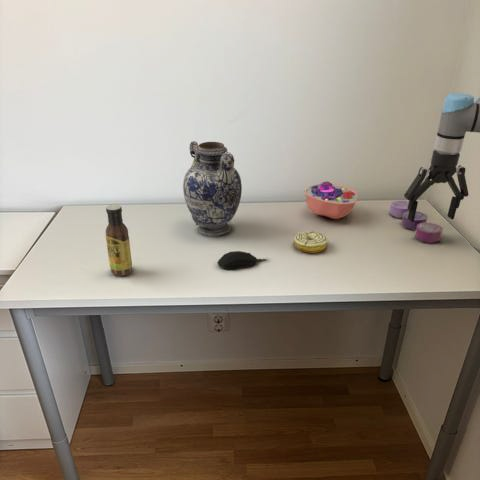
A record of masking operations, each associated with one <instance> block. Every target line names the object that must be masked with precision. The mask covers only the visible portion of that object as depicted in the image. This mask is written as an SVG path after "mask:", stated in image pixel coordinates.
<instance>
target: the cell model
mask: <svg viewBox="0 0 480 480" xmlns="http://www.w3.org/2000/svg"><path fill="white" fill-rule="evenodd" d="M304 196H305V202H306V205H307V208H308V209H309V210H310V212H311V213H312V214H315V215H317V216H322V217H327V218H329V219H333V220H339V219H341V218H344V217H347V216H348V215H349V214H351V212H352V211H353V209H354V208H355V206H356V202H357V200H358V193H356V191H354V190H353V189H352V188H349V187H345V186H341V185H337V184H332V182H329V181H326V180H325V181H322V182H321V183H318V184H314V185H311V186H308V187H307V188H306V189H305V190H304Z"/></svg>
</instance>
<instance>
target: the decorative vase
mask: <svg viewBox="0 0 480 480" xmlns="http://www.w3.org/2000/svg"><path fill="white" fill-rule="evenodd" d="M188 148H189V154H190V156H191V158H193V160H192V163H191V166H190V168H189V169H188V170H187V171H186V172H185V175H184V178H183V182H182V183H183V184H182V190H183V197H184V202H185V205H186V207H187V209H188V211H189V213H190V214H191V215H190V216H191V218H192V220H193V222H194V224H195V226H198V232H199V234H201V235H203V236H207V237H221V236H224V235H227V234H228V233H230V231H231V225H230V224H229V222H231V220H233V218H234V217H235V215H236V213H237V211H238V210H239V209H238V208H239V206H240V203H241V199H242V191H243V189H242V187H243V186H242V177H241V175H240V173H239V172H238V170H237V169H236V168H235V157H234V155H233V154H232V153H231V152H229V151H228V148H227V147H226V146H225V144H224V143H222V142H219V141H205V142H201V143H198V142H197V141H195V140H192V141H190V143H189V147H188Z"/></svg>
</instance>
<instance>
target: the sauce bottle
mask: <svg viewBox="0 0 480 480" xmlns="http://www.w3.org/2000/svg"><path fill="white" fill-rule="evenodd" d="M105 211H106V214H107V223H108V224H107V226H106V228H105V241H106V248H107V256H108V263H109V268H110V272H111V274H112V275H114V276H117V277H124V276H128V275H130V274H131V273H132V272H133V260H132V251H131V243H130V236H129V229H128V227H127V226H126V224H125V223H124V219H123V214H122V212H123V208H122V205H120V204H117V203H113V204H108V205H107V206H106V207H105Z"/></svg>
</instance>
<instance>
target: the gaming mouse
mask: <svg viewBox="0 0 480 480" xmlns="http://www.w3.org/2000/svg"><path fill="white" fill-rule="evenodd" d="M262 261H267V259H266V258H257V257H256V256H254V255H252V254H251V253H250V252H246V251H240V250H236V251H228V252H226V253H224V254H223V255H221V257H220V258H219V259H218V260H217V265H218V267H220V268H223V269H226V270H237V269H245V268H250V267H254V266H255V265H257V262H262Z"/></svg>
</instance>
